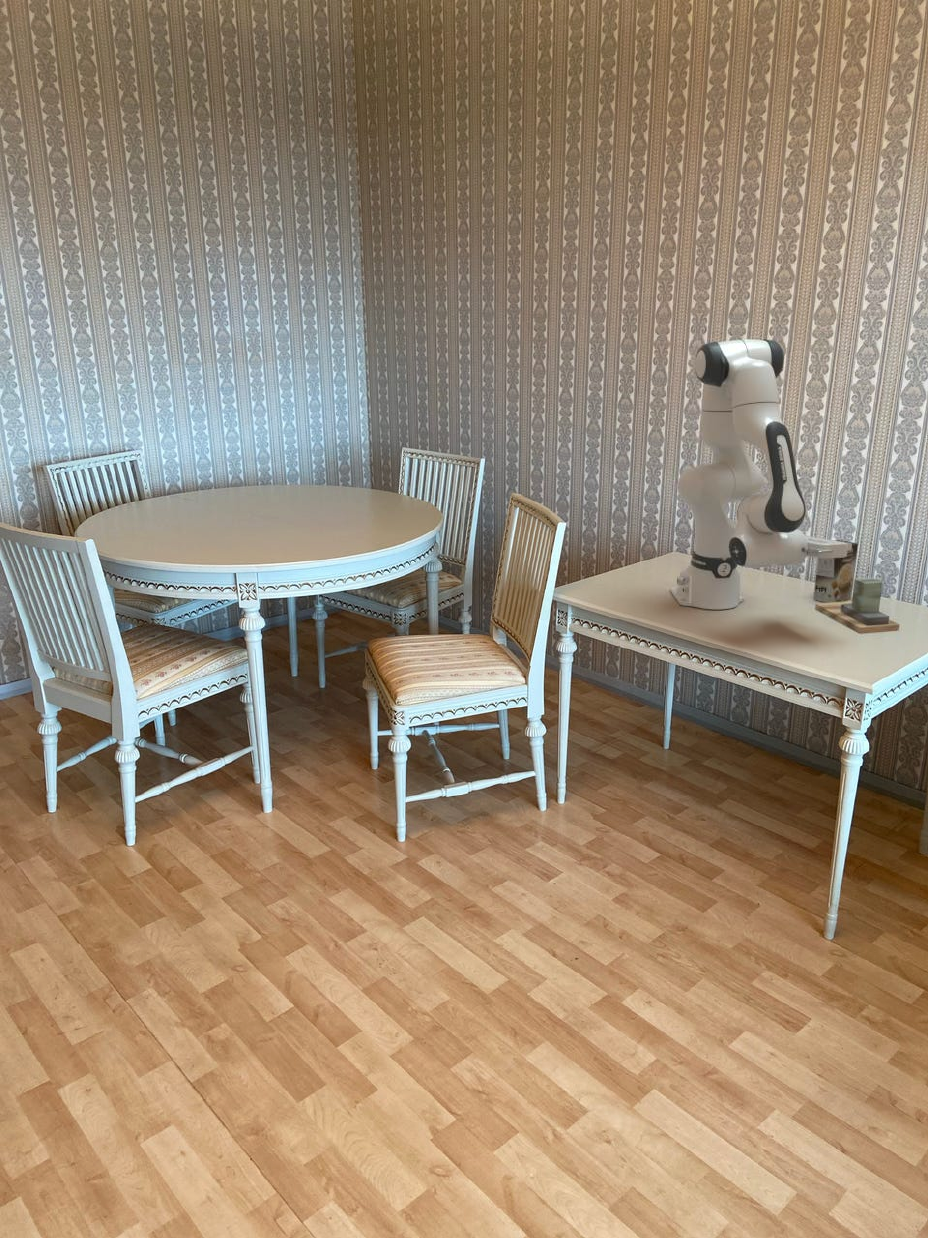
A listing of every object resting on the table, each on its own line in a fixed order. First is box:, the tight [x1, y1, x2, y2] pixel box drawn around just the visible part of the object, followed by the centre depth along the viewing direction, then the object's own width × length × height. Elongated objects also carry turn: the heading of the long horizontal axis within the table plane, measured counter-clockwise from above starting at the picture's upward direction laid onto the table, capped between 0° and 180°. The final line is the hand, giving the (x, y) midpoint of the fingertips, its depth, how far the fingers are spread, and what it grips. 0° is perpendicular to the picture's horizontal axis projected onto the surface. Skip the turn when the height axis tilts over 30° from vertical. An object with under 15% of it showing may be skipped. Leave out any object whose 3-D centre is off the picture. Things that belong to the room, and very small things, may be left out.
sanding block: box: [840, 577, 890, 626], centre depth 253 cm, size 12×6×10 cm, turn 12°
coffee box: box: [812, 539, 859, 603], centre depth 272 cm, size 9×6×16 cm
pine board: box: [814, 600, 901, 634], centre depth 258 cm, size 21×11×2 cm, turn 12°
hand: (836, 543), depth 246 cm, fingers open, 8 cm apart
